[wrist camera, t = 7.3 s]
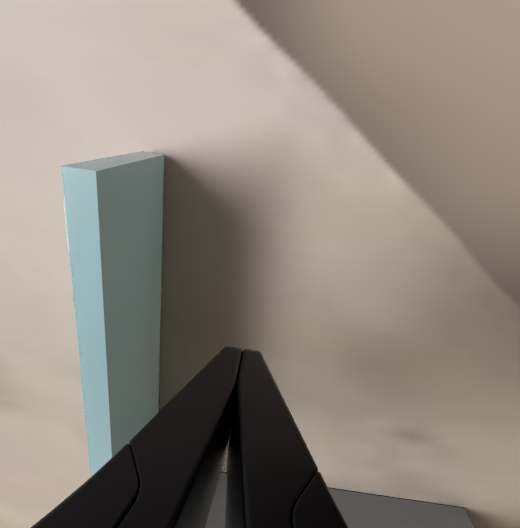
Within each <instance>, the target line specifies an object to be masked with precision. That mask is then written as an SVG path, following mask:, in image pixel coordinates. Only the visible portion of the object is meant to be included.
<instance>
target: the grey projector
mask: <svg viewBox="0 0 520 528" xmlns="http://www.w3.org/2000/svg"><path fill="white" fill-rule="evenodd" d="M226 486H227V473H220V476H219V480H218V483H217V487H216V490H215V494H214V498H213V501H212V505H211V508H210V512H209V515H208V519H207V522H206V526H205V528H225V511H226ZM328 490H329V492H330V494H331V496H332V497H333V499H334V501H335V503H336V505H337V507H338V509H339V511H340V513H341V514H342V516H343V518H344V520H345V522H346V524H347V525H348V527H349V528H474V526H473V524H472V522H471V520H470V518H469V516H468V514H467V512H466V510H465V508H460V507H453V506H446V505H440V504H433V503H426V502H419V501H412V500H405V499H399V498H392V497H385V496H378V495H371V494H365V493H358V492H351V491H344V490H337V489H330V488H328Z"/></svg>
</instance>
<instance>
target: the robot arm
mask: <svg viewBox="0 0 520 528" xmlns="http://www.w3.org/2000/svg"><path fill="white" fill-rule="evenodd" d="M230 430H231V431H230ZM229 436H230V438H229ZM228 442H229V446H228ZM227 447H228V461H227V486H226V511H225V528H349V527H348V525H347V524H346V522H345V520H344V518H343V516H342V514H341V513H340V511H339V509H338V507H337V505H336V503H335V501H334V499H333V497H332V496H331V494H330V492H329V490H328V488H327V486H326V484H325V482H324V480H323V477H322V475H321V473H320V472H318V468H317V466H316V464H315V462H314V460H313V458H312V456H311V454H310V452H309V450H308V448H307V445H306V443H305V441H304V439H303V437H302V435H301V433H300V431H299V429H298V427H297V425H296V423H295V421H294V419H293V417H292V415H291V413H290V411H289V409H288V407H287V405H286V403H285V401H284V399H283V397H282V395H281V393H280V391H279V389H278V387H277V385H276V383H275V381H274V379H273V377H272V375H271V373H270V371H269V369H268V367H267V365H266V363H265V361H264V359H263V357H262V354H261V353H260V352H259V351H255V350H248V349H245V350H243V352H242V349H240V348H234V347H225V348H224V349H223V350H222V351H221V352H220V353H219V354H218V355H216V356H215V357H214V358H213V359H212V360H211V361H210V362H209V363H208V364H207V365H206V366H205V367H204V368H203V369H202V370H201V371H200V372H199V373H198V374H197V375H196V376H195V377H194V378H193V379H192V380H191V381H190V382H189V383H188V384H187V385H186V386H185V387H184V388H183V389H182V390H181V391H180V392H179V393H178V394H177V395H176V396H175V397H174V398H173V399H171V400H170V401H169V402H168V403H167V404H166V405H165V406H164V407H163V408H162V409H161V410H160V411H159V412H158V413H157V414H156V415H155V416H154V417H153V418H152V419H151V420H150V421H149V422H148V423H147V424H146V425H145V426H144V427H143V428H142V429H141V430H140V431H139V432H138V433H137V434H136V435H135V436H134V437H133V438H132V439H131V440H130V441H129V444H125V445H124V446H123V447H122V448H121V449H120V450H119V451H118V452H117V453H116V454H115V455H114V456H113V457H112V458H111V459H110V460H109V461H108V462H107V463H106V464H105V465H103V466H102V467H101V468H100V469H99V470H98V471H97V472H96V473H95V474H94V475H93V476H92V477H91V478H89V479H88V480H87V481H86V482H85V483H84V484H83V485H82V486H80V487H79V488H78V489H77V490H76V491H74V492H73V493H72V494H71V495H70V496H69V497H67V498H66V499H65V500H64V501H63V502H61V503H60V504H59V505H58V506H57V507H55V508H54V509H53V510H52V511H51V512H49V513H48V514H47V515H46V516H45V517H43V518H42V519H41V520H40V521H38V522H37V523H36V524H35V525H33V526H32V527H31V528H205V526H206V522H207V519H208V515H209V512H210V508H211V505H212V501H213V498H214V494H215V490H216V487H217V483H218V480H219V476H220V473H221V469H222V466H223V462H224V459H225V455H226V451H227Z"/></svg>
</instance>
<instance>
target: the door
mask: <svg viewBox="0 0 520 528" xmlns="http://www.w3.org/2000/svg"><path fill="white" fill-rule="evenodd" d="M61 167H62V177H63V188H64V198H63V202H64V212H65V222H66V233H67V243H68V250H69V251H70V261H71V272H72V282H73V293H74V303H75V314H76V324H77V335H78V345H79V356H80V366H81V377H82V387H83V398H84V408H85V419H86V429H87V440H88V450H89V461H90V471H91V477H92V476H93V475H94V474H95V473H96V472H97V471H98V470H99V469H100V468H101V467H102V466H103V465H105V464H106V463H107V462H108V461H109V460H110V459H111V458H112V457H113V456H114V455H115V454H116V453H117V452H118V451H119V450H120V449H121V448H122V447H123V446H124V445H125V444H129V441H130V440H131V439H132V438H133V437H134V436H135V435H136V434H137V433H138V432H139V431H140V430H141V429H142V428H143V427H144V426H145V425H146V424H147V423H148V422H149V421H150V420H151V419H152V418H153V417H154V416H155V415H156V414H157V413H158V404H159V360H160V316H161V273H162V229H163V185H164V155H163V154H156V153H150V152H143V151H142V152H136V153H131V154H125V155H120V156H114V157H108V158H103V159H97V160H92V161H86V162H81V163H75V164H69V165H64V166H61Z"/></svg>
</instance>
